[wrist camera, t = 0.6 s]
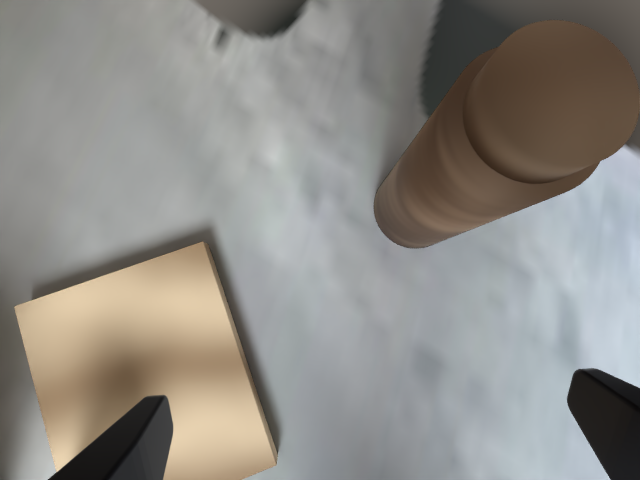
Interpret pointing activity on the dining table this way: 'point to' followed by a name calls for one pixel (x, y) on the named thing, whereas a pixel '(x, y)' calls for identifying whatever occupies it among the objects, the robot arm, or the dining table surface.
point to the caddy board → (149, 365)
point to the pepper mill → (511, 133)
